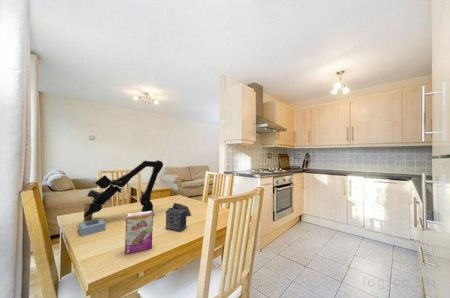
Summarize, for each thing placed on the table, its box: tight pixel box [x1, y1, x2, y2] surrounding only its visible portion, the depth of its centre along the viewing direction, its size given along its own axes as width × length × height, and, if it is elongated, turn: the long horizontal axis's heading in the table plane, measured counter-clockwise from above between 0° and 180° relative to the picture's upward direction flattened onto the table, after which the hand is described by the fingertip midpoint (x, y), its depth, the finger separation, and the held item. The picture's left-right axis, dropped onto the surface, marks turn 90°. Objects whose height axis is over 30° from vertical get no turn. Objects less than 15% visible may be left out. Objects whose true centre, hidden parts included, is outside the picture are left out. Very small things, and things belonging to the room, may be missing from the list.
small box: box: [165, 209, 187, 233], centre depth 102 cm, size 11×6×10 cm, turn 71°
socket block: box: [77, 217, 106, 237], centre depth 98 cm, size 10×10×4 cm
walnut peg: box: [83, 202, 93, 222], centre depth 105 cm, size 4×4×12 cm
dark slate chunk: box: [167, 202, 192, 217], centre depth 130 cm, size 15×22×5 cm
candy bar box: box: [124, 211, 154, 255], centre depth 80 cm, size 11×5×16 cm, turn 118°
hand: (85, 213), depth 104 cm, fingers open, 9 cm apart
